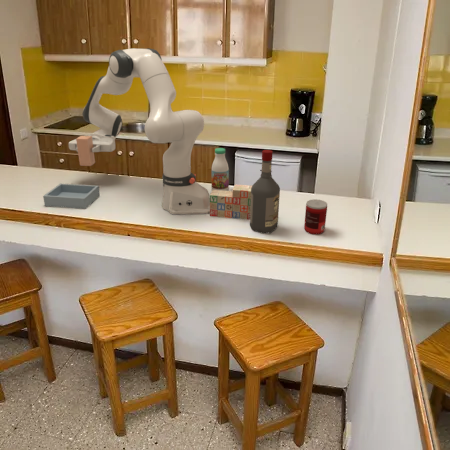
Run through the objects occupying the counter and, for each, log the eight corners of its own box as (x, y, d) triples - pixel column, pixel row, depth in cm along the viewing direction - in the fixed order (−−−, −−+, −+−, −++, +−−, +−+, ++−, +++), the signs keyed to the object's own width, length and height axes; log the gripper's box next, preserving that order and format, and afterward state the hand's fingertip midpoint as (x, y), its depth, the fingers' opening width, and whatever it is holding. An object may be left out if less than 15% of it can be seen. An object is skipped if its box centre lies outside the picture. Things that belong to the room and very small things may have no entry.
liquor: (247, 229, 171) (249, 152, 158) (258, 220, 178) (261, 146, 165) (269, 235, 167) (273, 156, 154) (279, 226, 174) (284, 150, 161)
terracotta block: (95, 162, 204) (91, 136, 199) (90, 166, 200) (87, 139, 195) (84, 162, 205) (81, 135, 200) (79, 165, 201) (76, 138, 195)
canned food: (321, 225, 175) (324, 199, 170) (326, 234, 168) (329, 207, 163) (302, 225, 175) (304, 199, 170) (306, 235, 167) (308, 207, 163)
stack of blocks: (209, 216, 182) (209, 187, 177) (212, 210, 187) (212, 182, 182) (262, 221, 178) (264, 192, 173) (264, 214, 184) (265, 186, 178)
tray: (99, 195, 201) (98, 185, 199) (85, 208, 188) (84, 198, 186) (61, 192, 203) (60, 183, 201) (44, 206, 190) (43, 196, 188)
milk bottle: (209, 189, 208) (209, 147, 199) (225, 188, 210) (226, 146, 201) (214, 196, 201) (214, 152, 193) (230, 194, 203) (231, 150, 195)
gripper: (75, 134, 211) (61, 142, 199) (117, 136, 209) (106, 144, 196) (77, 147, 214) (63, 156, 202) (118, 149, 211) (107, 158, 199)
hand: (84, 150), depth 199 cm, fingers closed on terracotta block, 5 cm apart
